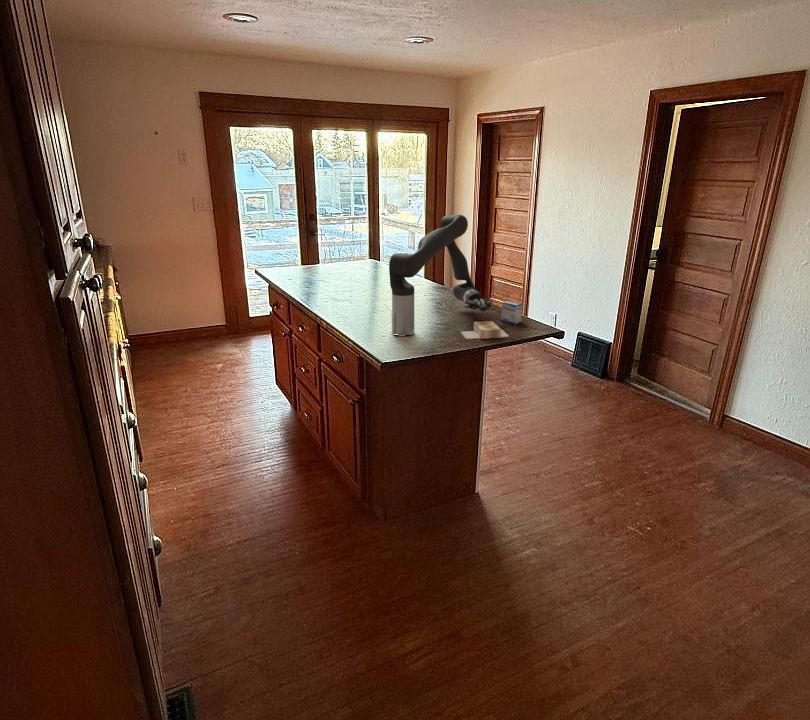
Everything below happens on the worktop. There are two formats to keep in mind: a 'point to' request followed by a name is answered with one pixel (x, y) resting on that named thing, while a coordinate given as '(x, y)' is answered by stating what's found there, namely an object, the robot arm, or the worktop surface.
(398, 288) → the robot arm
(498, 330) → the birch block
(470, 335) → the grey mat
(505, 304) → the medicine box
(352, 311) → the worktop surface
